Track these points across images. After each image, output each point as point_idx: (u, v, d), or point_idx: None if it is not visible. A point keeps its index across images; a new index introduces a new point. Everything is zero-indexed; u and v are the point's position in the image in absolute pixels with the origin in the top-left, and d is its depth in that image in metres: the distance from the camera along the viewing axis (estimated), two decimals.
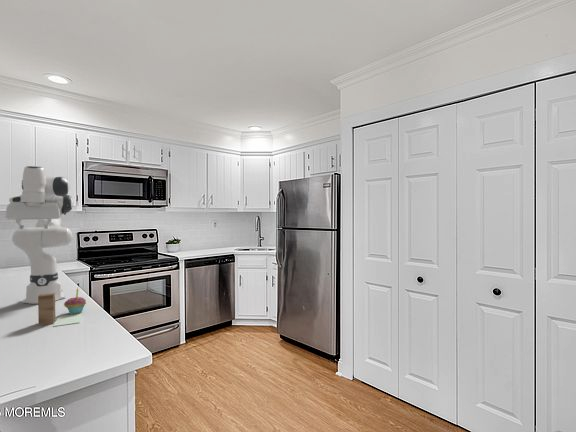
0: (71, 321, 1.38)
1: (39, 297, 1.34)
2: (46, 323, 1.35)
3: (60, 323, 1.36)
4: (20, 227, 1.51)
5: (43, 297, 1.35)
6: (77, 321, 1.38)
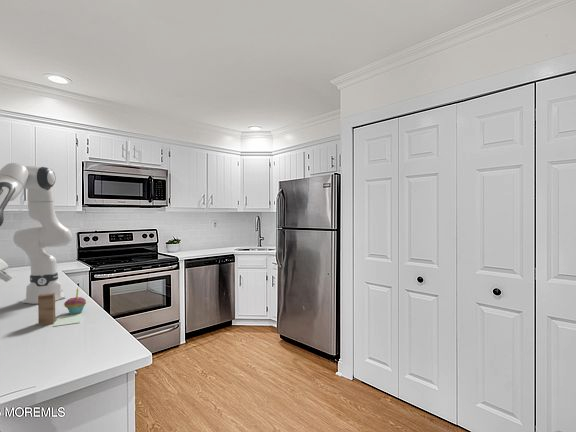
0: (71, 321, 1.38)
1: (39, 297, 1.34)
2: (46, 323, 1.35)
3: (60, 323, 1.36)
4: None
5: (43, 297, 1.35)
6: (77, 321, 1.38)
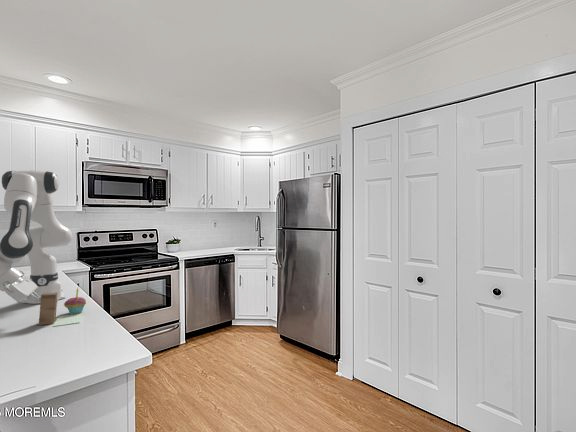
0: (71, 321, 1.38)
1: (42, 296, 1.35)
2: (46, 322, 1.35)
3: (60, 323, 1.36)
4: None
5: (46, 296, 1.35)
6: (77, 321, 1.38)
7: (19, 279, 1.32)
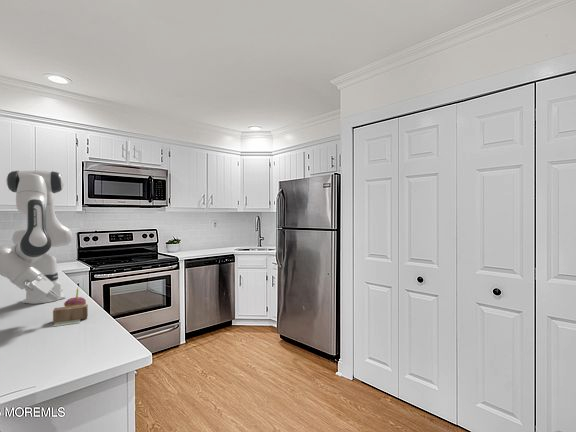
0: (71, 321, 1.38)
1: (85, 308, 1.42)
2: (54, 317, 1.37)
3: (60, 323, 1.36)
4: None
5: (85, 311, 1.42)
6: (77, 321, 1.38)
7: (38, 277, 1.35)
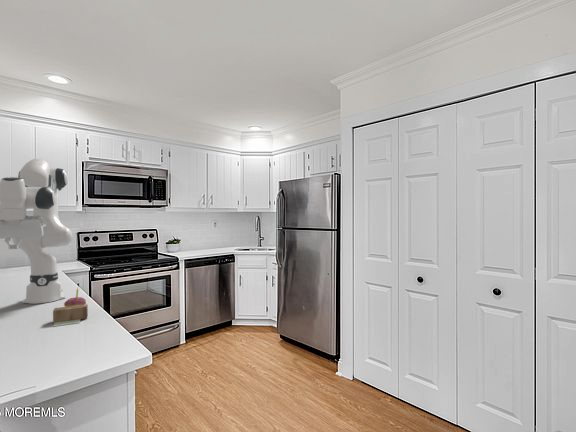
0: (71, 321, 1.38)
1: (85, 308, 1.42)
2: (54, 317, 1.37)
3: (60, 323, 1.36)
4: (10, 247, 1.36)
5: (85, 311, 1.42)
6: (77, 321, 1.38)
7: None
